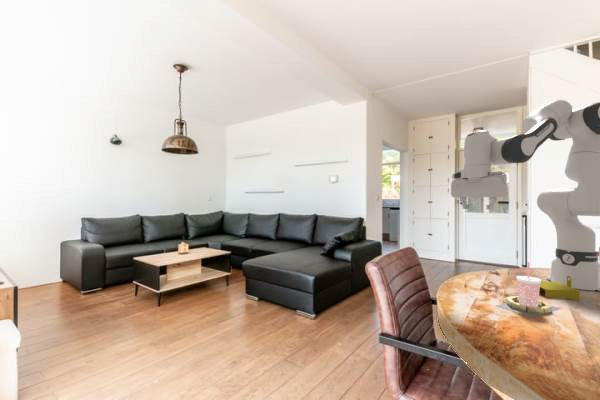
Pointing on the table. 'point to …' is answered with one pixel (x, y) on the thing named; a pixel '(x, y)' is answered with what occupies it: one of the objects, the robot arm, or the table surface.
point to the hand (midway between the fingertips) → (477, 209)
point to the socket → (543, 309)
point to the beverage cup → (528, 290)
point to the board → (523, 311)
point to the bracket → (560, 290)
